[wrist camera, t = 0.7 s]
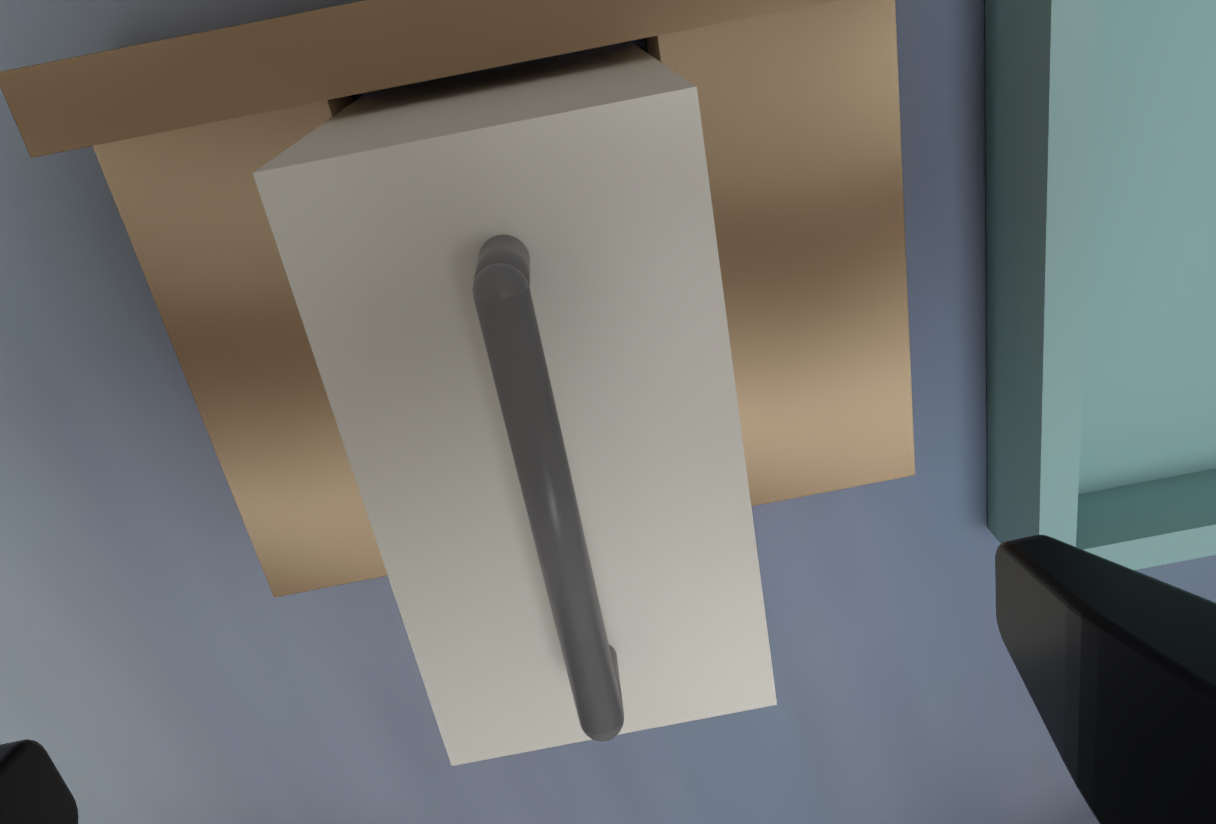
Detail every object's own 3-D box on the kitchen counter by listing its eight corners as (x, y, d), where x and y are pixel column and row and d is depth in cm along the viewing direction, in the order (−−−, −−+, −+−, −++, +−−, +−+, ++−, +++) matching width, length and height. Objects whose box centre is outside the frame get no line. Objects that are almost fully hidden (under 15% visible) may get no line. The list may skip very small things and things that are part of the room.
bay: (882, 432, 21) (953, 525, 18) (295, 545, 22) (247, 659, 18) (852, -94, 17) (939, -113, 13) (108, 52, 17) (-6, 72, 13)
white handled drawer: (694, 458, 21) (803, 781, 13) (478, 499, 22) (442, 849, 13) (629, 40, 18) (721, 104, 9) (367, 91, 18) (210, 203, 9)
